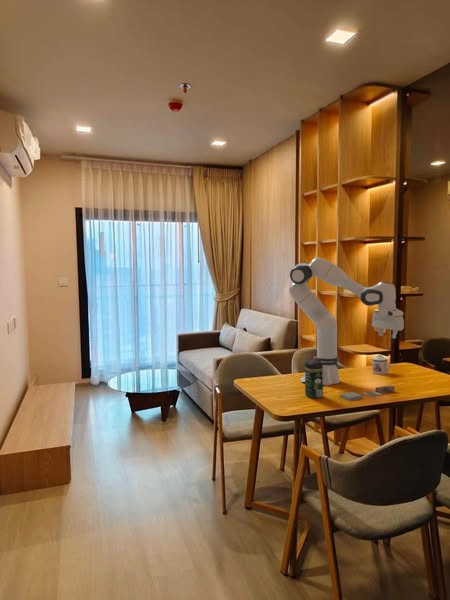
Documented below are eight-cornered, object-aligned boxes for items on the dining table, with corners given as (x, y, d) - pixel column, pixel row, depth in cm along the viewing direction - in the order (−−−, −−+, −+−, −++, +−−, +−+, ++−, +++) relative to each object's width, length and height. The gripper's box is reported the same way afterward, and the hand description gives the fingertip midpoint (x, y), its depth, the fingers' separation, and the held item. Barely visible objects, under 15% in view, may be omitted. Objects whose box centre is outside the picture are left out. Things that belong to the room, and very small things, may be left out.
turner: (388, 389, 215) (388, 384, 215) (396, 392, 210) (396, 387, 210) (362, 394, 209) (362, 388, 209) (370, 397, 204) (370, 391, 204)
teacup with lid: (368, 372, 254) (368, 354, 253) (378, 370, 258) (378, 352, 258) (385, 376, 243) (385, 357, 243) (395, 374, 248) (394, 355, 247)
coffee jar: (302, 394, 212) (302, 359, 211) (316, 392, 214) (315, 357, 213) (311, 399, 202) (310, 362, 201) (325, 397, 204) (325, 361, 203)
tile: (353, 391, 208) (340, 394, 205) (362, 395, 201) (349, 397, 199) (353, 395, 208) (340, 397, 205) (362, 399, 202) (349, 401, 199)
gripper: (369, 310, 228) (369, 335, 229) (396, 313, 209) (396, 340, 210) (378, 310, 230) (378, 334, 231) (405, 312, 211) (406, 339, 212)
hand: (387, 337), depth 220 cm, fingers open, 8 cm apart
